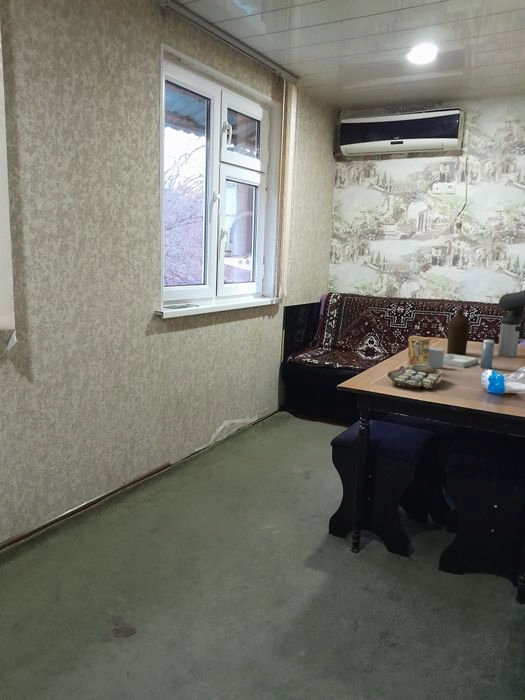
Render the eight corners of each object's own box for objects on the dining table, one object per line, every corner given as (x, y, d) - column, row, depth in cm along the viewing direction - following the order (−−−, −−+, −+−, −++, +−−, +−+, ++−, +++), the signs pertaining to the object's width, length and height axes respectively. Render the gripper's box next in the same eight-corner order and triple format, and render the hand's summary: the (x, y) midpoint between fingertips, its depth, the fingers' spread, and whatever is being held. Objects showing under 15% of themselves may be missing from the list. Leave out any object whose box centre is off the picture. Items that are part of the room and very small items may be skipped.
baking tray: (437, 396, 201) (438, 382, 200) (380, 387, 210) (382, 374, 209) (447, 379, 227) (449, 367, 226) (397, 372, 236) (398, 360, 235)
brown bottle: (452, 356, 277) (457, 308, 272) (442, 352, 287) (446, 306, 282) (470, 355, 279) (475, 308, 274) (459, 351, 289) (463, 306, 284)
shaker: (482, 366, 254) (485, 339, 251) (493, 367, 250) (496, 340, 248) (478, 367, 250) (481, 340, 248) (489, 369, 247) (492, 341, 244)
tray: (450, 358, 270) (451, 353, 269) (477, 363, 260) (478, 358, 259) (435, 362, 259) (436, 357, 258) (463, 367, 249) (463, 362, 248)
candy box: (427, 371, 239) (430, 338, 236) (421, 372, 237) (424, 338, 234) (412, 367, 247) (415, 335, 244) (406, 368, 244) (408, 335, 241)
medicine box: (442, 367, 249) (444, 349, 248) (441, 369, 245) (443, 350, 244) (425, 365, 252) (427, 347, 251) (424, 367, 248) (425, 349, 247)
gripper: (564, 322, 230) (525, 318, 242) (554, 324, 221) (514, 320, 232) (562, 339, 232) (523, 334, 243) (551, 342, 222) (512, 337, 233)
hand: (519, 327), depth 237 cm, fingers open, 8 cm apart
